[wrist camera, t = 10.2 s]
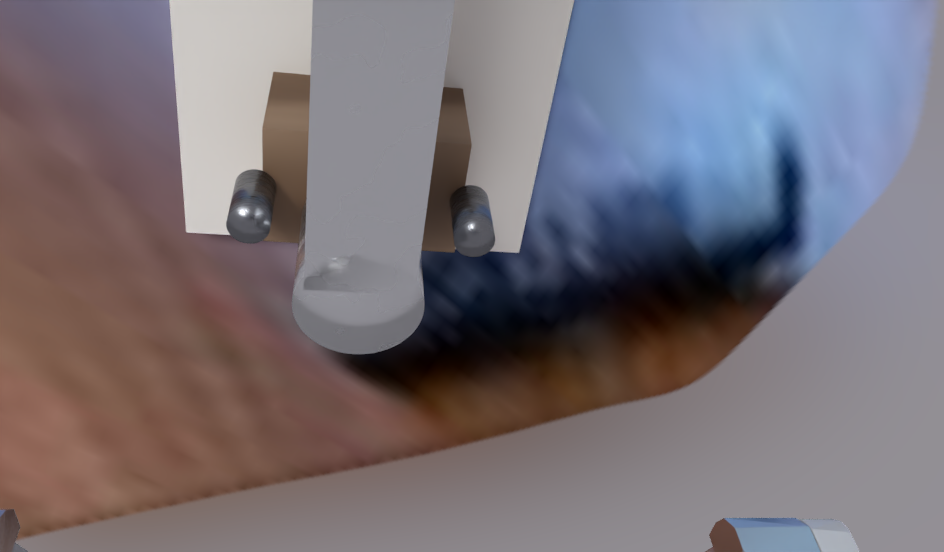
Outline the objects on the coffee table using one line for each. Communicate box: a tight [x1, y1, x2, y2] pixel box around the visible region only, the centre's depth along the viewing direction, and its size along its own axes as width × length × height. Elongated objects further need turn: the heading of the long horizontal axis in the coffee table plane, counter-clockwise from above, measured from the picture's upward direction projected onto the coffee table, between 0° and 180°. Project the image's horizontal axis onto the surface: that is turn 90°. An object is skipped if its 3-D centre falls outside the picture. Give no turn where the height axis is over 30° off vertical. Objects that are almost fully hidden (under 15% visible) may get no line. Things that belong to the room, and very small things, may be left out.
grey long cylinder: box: [292, 0, 455, 354], centre depth 22 cm, size 18×4×4 cm, turn 172°
